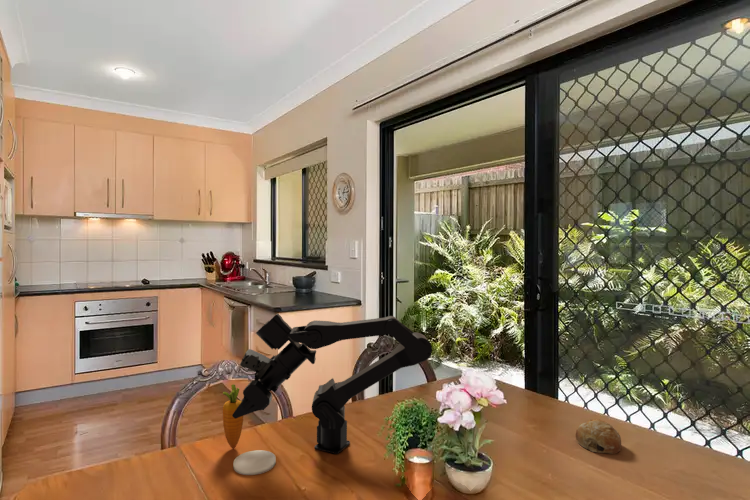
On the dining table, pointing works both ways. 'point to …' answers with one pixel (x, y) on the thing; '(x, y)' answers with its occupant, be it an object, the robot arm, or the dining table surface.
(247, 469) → the smooth white pebble
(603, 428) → the bread roll
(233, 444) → the carrot
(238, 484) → the dining table surface
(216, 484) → the dining table surface
